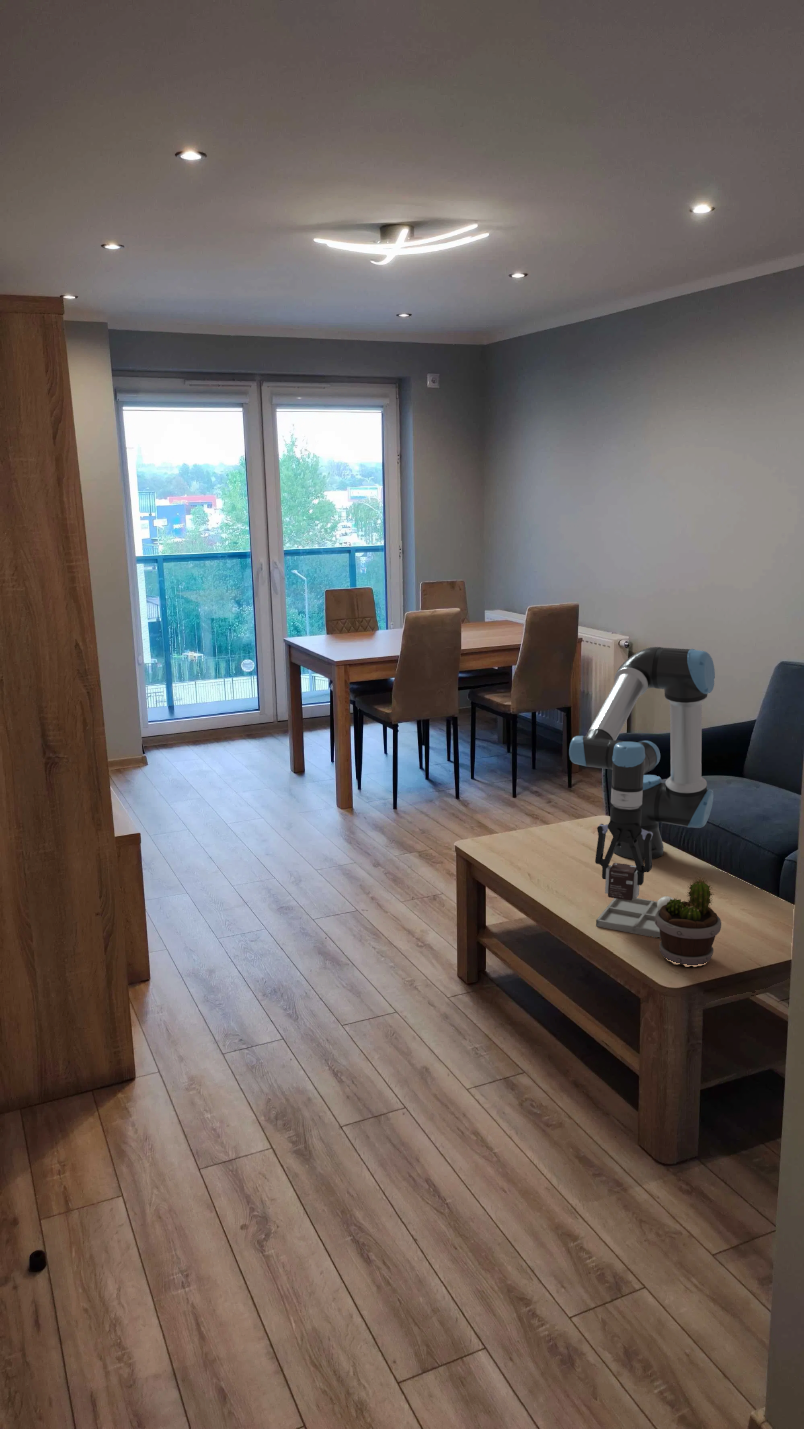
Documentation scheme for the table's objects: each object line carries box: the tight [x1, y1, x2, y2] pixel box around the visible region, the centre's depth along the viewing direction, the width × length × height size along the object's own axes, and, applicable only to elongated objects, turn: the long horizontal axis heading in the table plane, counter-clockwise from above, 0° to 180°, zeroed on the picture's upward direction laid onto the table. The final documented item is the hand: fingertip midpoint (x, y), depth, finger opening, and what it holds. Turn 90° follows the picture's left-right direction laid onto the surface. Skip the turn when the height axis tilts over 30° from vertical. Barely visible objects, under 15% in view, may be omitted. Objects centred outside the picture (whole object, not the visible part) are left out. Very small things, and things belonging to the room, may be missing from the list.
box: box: [607, 862, 637, 901], centre depth 251 cm, size 6×6×7 cm
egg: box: [657, 895, 674, 910], centre depth 257 cm, size 5×5×5 cm
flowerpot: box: [655, 874, 722, 965], centre depth 231 cm, size 14×15×20 cm
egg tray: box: [595, 897, 661, 939], centre depth 255 cm, size 19×19×2 cm
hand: (621, 893), depth 252 cm, fingers closed on box, 6 cm apart
